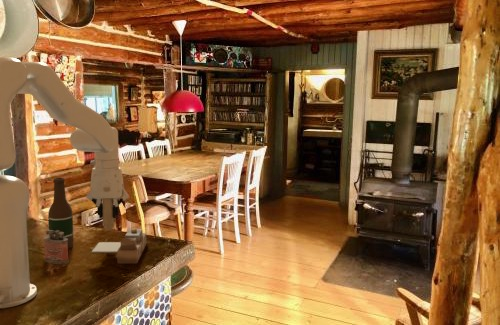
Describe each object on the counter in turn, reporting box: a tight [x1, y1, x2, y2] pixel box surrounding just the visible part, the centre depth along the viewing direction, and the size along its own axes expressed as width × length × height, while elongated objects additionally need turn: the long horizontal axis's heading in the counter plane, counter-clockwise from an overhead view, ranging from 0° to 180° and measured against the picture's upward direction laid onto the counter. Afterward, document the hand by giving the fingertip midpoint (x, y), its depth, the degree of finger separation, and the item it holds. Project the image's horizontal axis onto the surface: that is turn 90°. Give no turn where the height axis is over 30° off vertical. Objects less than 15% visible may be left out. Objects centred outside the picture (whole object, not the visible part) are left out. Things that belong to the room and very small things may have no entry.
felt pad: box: [91, 241, 121, 254], centre depth 144 cm, size 9×9×1 cm
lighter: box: [43, 229, 70, 265], centre depth 130 cm, size 8×3×10 cm, turn 74°
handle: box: [102, 188, 115, 231], centre depth 142 cm, size 5×6×15 cm
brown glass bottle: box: [47, 177, 74, 250], centre depth 142 cm, size 8×8×24 cm
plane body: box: [116, 228, 147, 264], centre depth 139 cm, size 18×6×7 cm, turn 5°
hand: (108, 216), depth 142 cm, fingers closed on handle, 4 cm apart
